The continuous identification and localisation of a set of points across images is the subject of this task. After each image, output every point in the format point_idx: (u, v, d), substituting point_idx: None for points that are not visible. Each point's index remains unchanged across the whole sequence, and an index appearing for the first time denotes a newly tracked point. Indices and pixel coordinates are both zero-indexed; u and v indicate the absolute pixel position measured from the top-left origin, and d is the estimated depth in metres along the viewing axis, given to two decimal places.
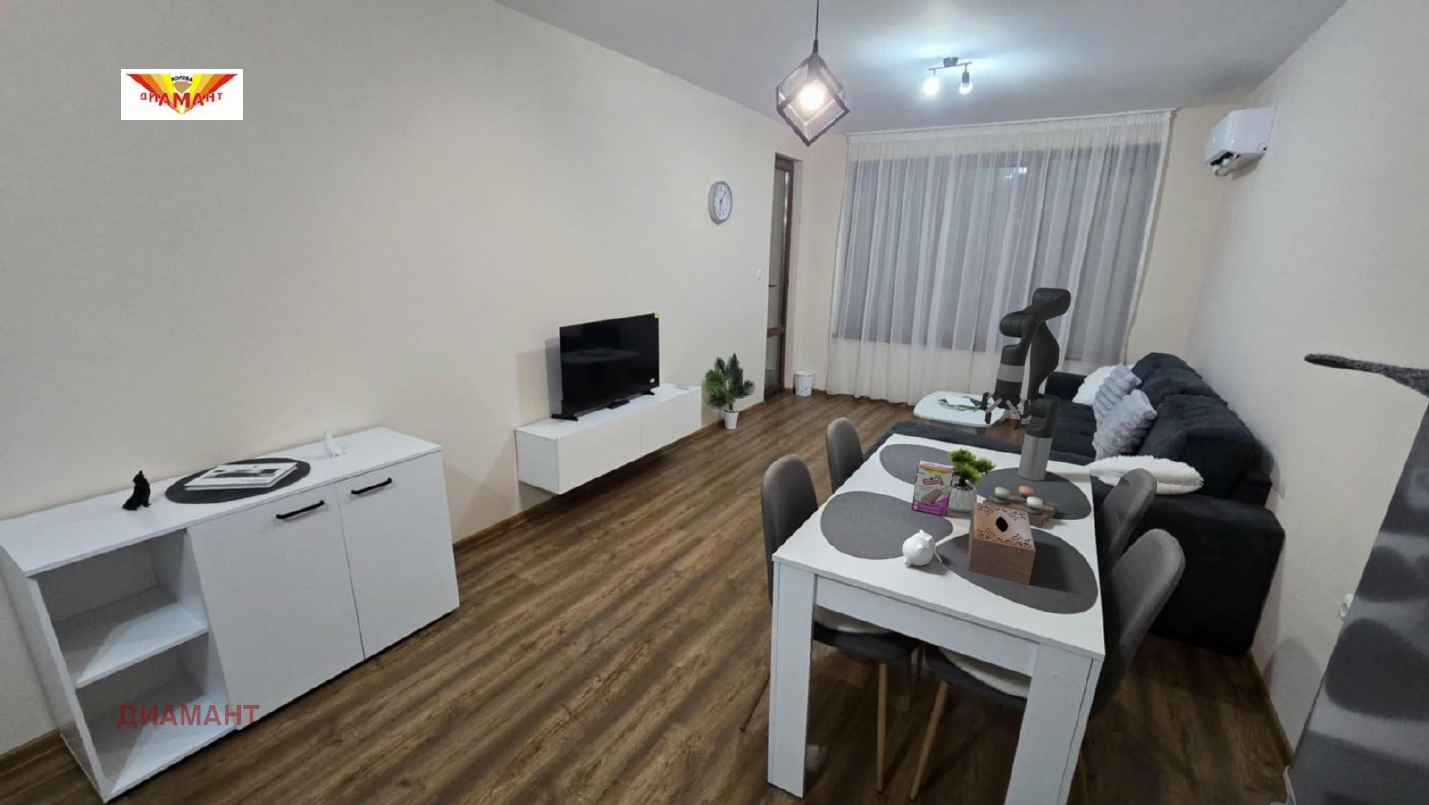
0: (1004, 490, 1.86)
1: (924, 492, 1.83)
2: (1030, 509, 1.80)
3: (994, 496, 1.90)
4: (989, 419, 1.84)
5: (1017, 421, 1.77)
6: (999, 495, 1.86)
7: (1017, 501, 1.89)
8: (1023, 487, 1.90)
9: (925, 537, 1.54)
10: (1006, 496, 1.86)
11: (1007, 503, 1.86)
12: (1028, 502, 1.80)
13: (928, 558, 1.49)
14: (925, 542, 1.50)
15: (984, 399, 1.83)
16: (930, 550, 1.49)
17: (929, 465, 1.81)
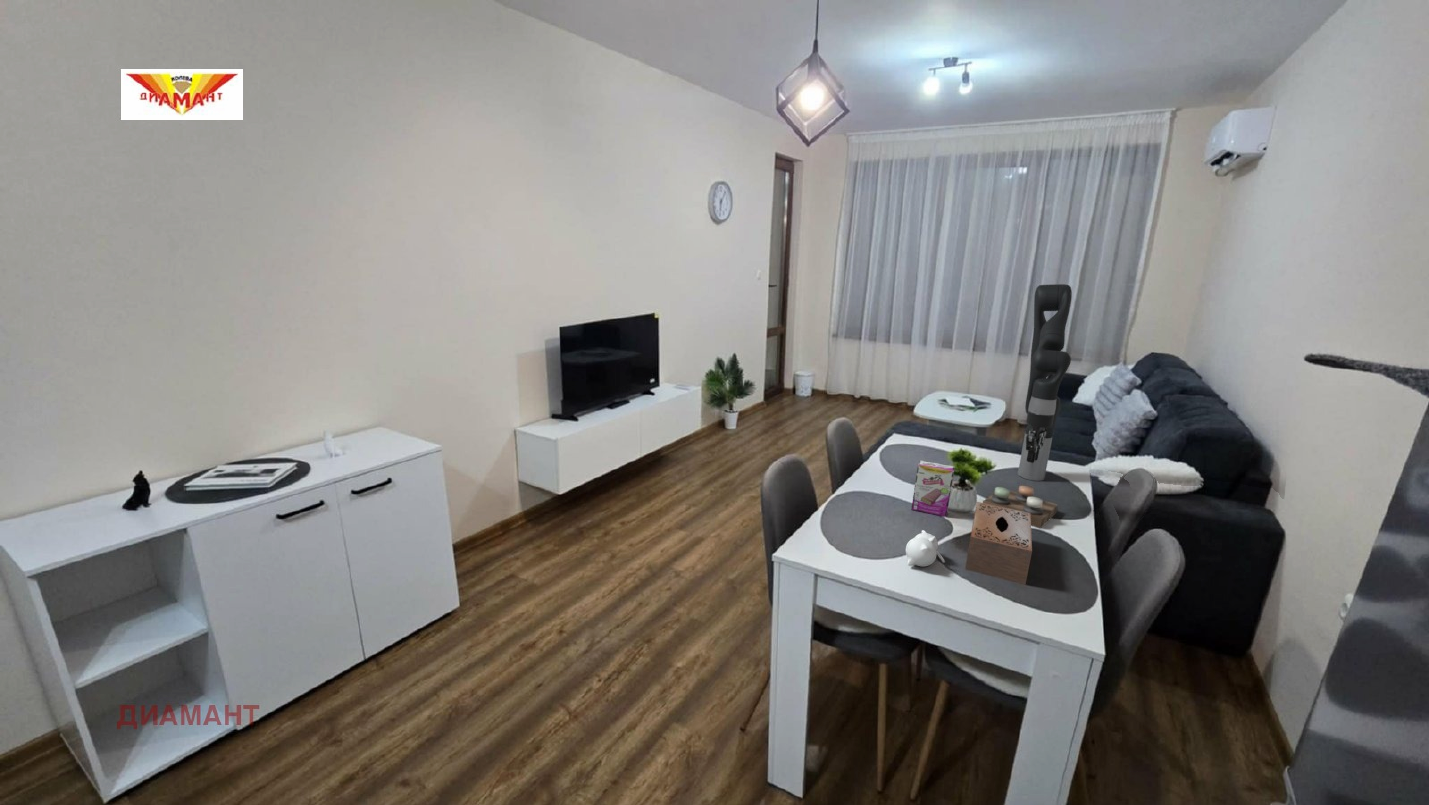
0: (1004, 490, 1.86)
1: (924, 492, 1.83)
2: (1030, 509, 1.80)
3: (994, 496, 1.90)
4: None
5: None
6: (999, 495, 1.86)
7: (1017, 501, 1.89)
8: (1023, 487, 1.90)
9: (928, 537, 1.54)
10: (1006, 496, 1.86)
11: (1007, 503, 1.86)
12: (1028, 502, 1.80)
13: (932, 559, 1.49)
14: (928, 542, 1.50)
15: (1035, 442, 1.81)
16: (934, 551, 1.49)
17: (929, 465, 1.81)
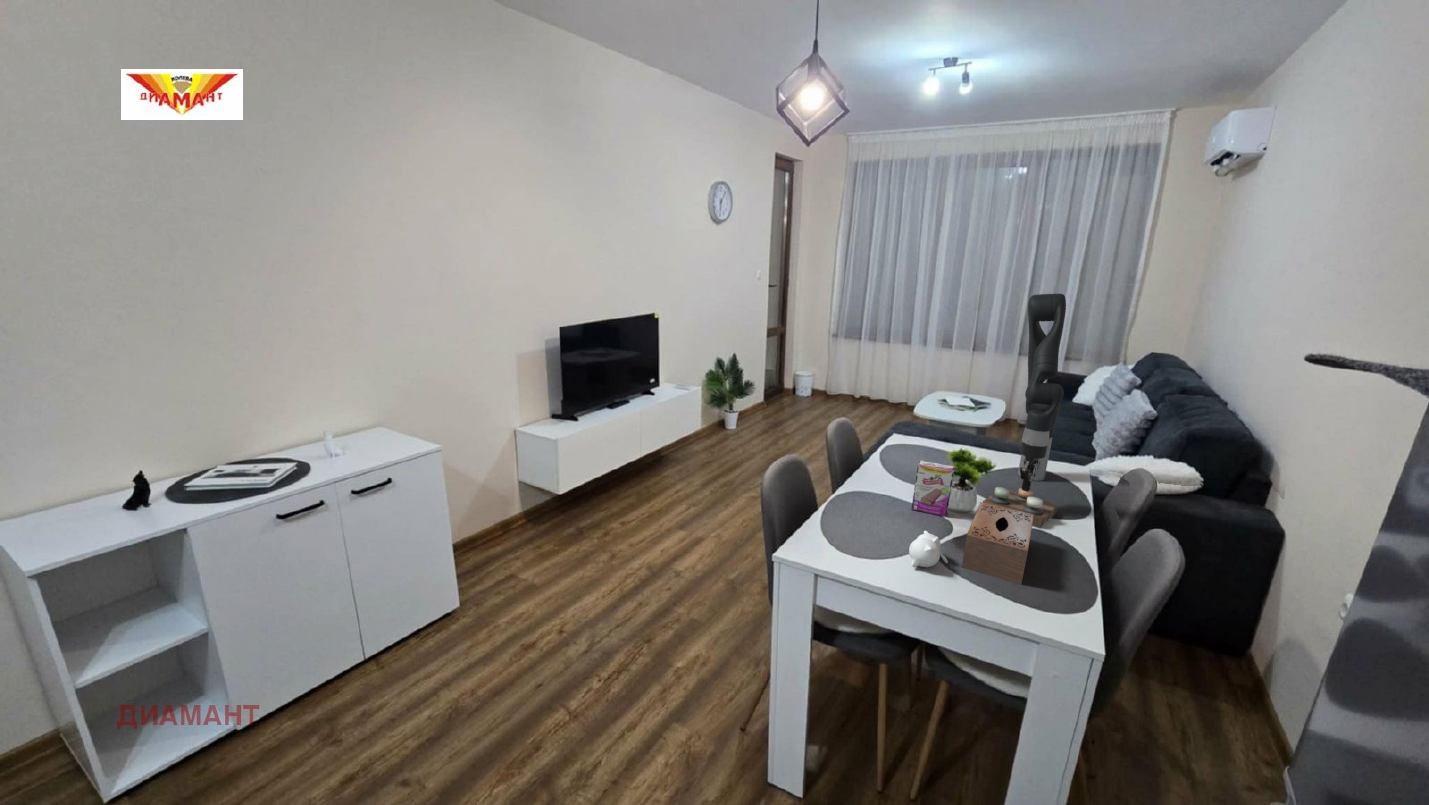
0: (1004, 490, 1.86)
1: (924, 492, 1.83)
2: (1030, 509, 1.80)
3: (994, 496, 1.90)
4: None
5: None
6: (999, 495, 1.86)
7: (1017, 501, 1.89)
8: None
9: (931, 538, 1.54)
10: (1006, 496, 1.86)
11: (1007, 503, 1.86)
12: (1028, 502, 1.80)
13: (936, 559, 1.49)
14: (932, 543, 1.49)
15: (1028, 473, 1.84)
16: (938, 551, 1.49)
17: (929, 465, 1.81)
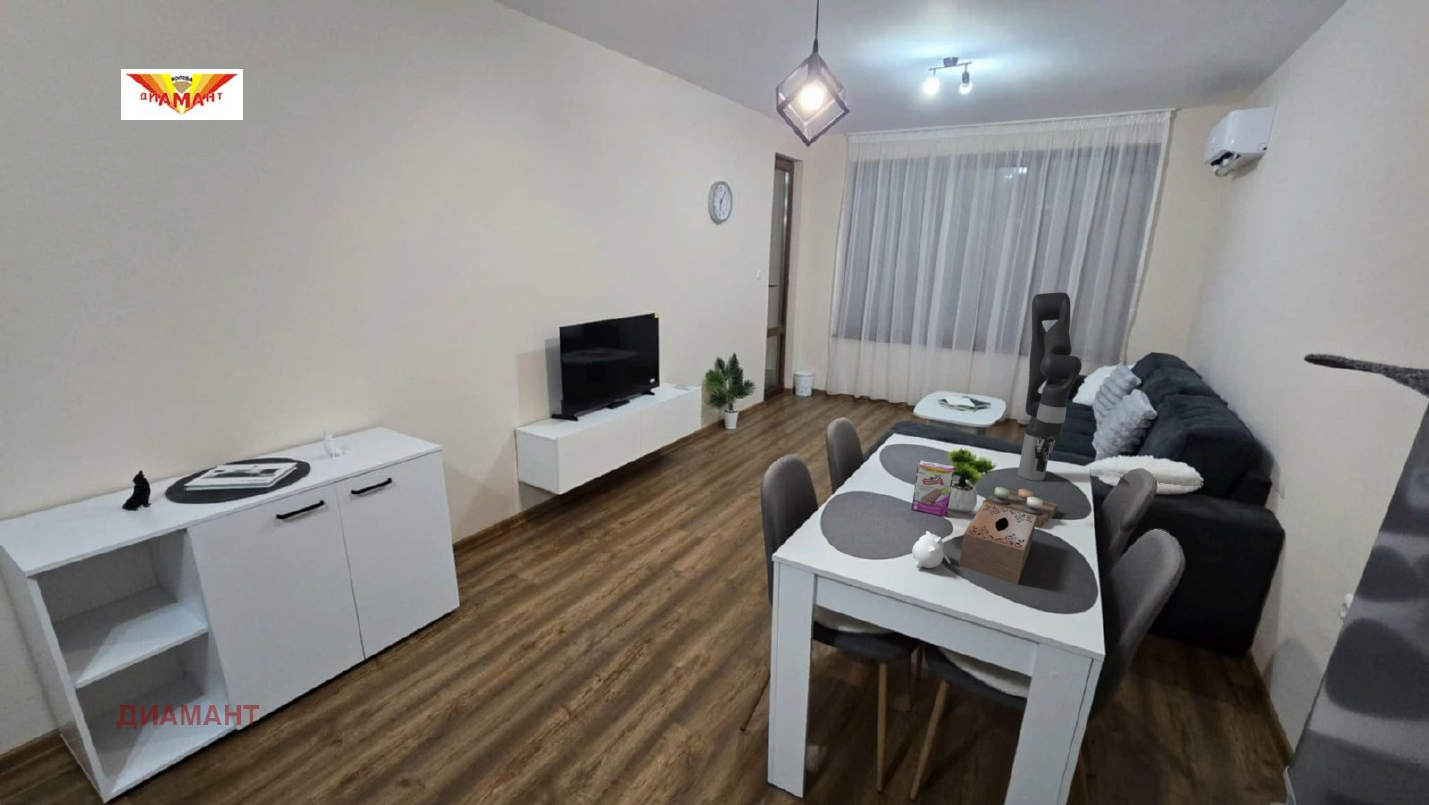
0: (1004, 490, 1.86)
1: (924, 492, 1.83)
2: (1030, 509, 1.80)
3: (994, 496, 1.90)
4: None
5: None
6: (999, 495, 1.86)
7: (1017, 501, 1.89)
8: (1022, 490, 1.90)
9: (933, 538, 1.54)
10: (1006, 496, 1.86)
11: (1007, 503, 1.86)
12: (1028, 502, 1.80)
13: (940, 560, 1.48)
14: (935, 544, 1.49)
15: (1044, 452, 1.72)
16: (941, 552, 1.49)
17: (929, 465, 1.81)
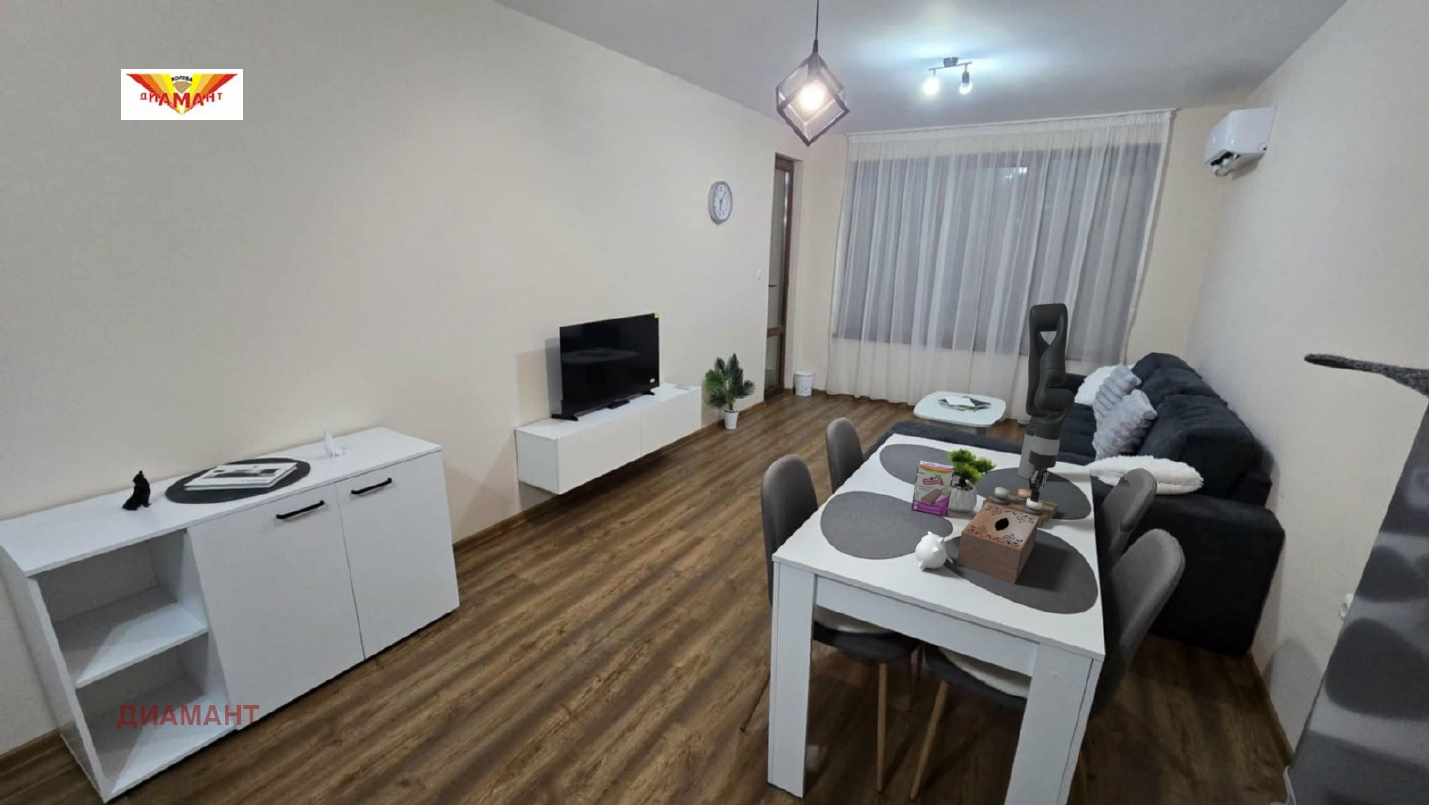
0: (1004, 490, 1.86)
1: (924, 492, 1.83)
2: (1030, 509, 1.80)
3: (994, 496, 1.90)
4: None
5: None
6: (999, 495, 1.86)
7: (1017, 501, 1.89)
8: (1022, 490, 1.90)
9: (936, 539, 1.54)
10: (1006, 496, 1.86)
11: (1007, 503, 1.86)
12: (1028, 504, 1.81)
13: (943, 560, 1.48)
14: (939, 544, 1.49)
15: (1038, 483, 1.75)
16: (945, 552, 1.49)
17: (929, 465, 1.81)
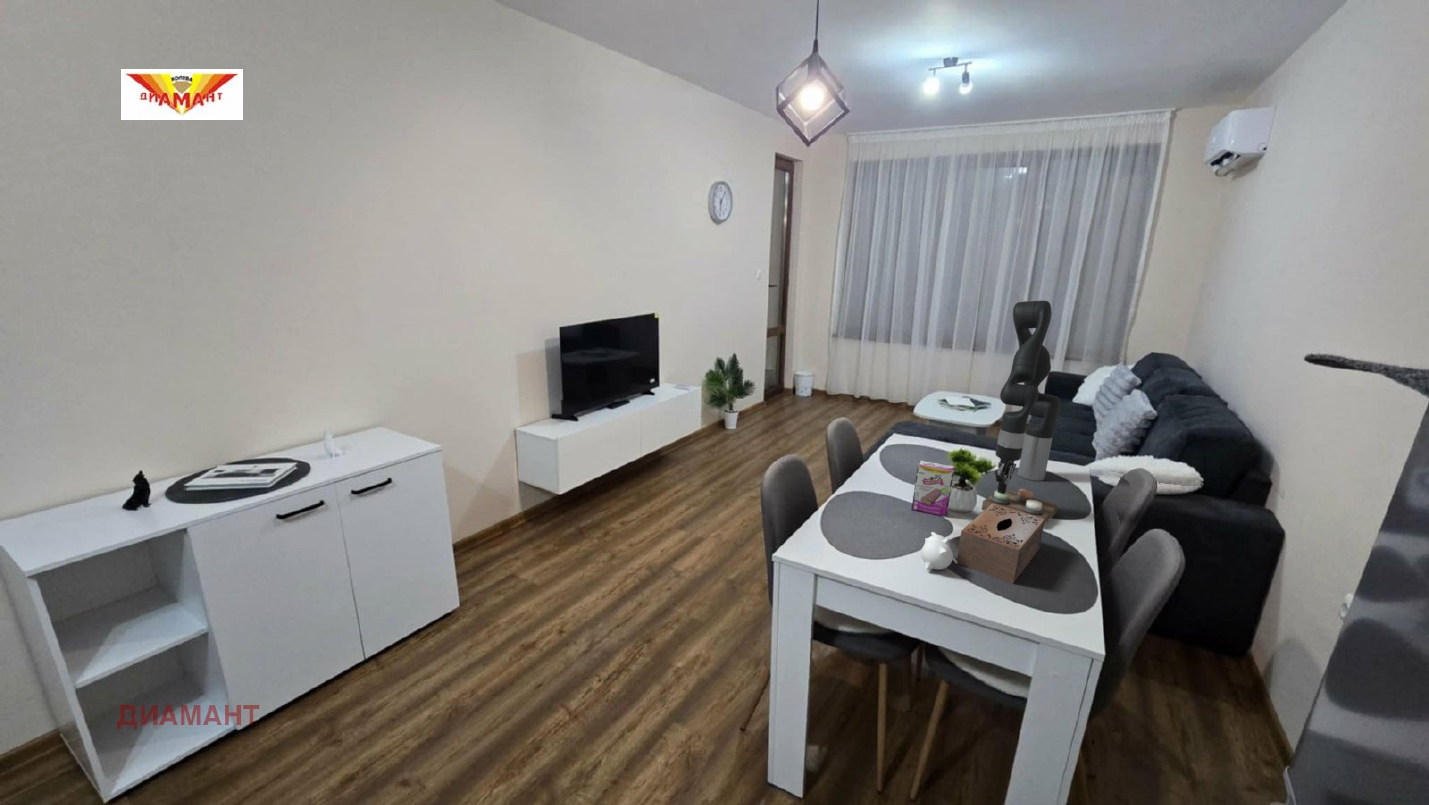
0: (1003, 494, 1.87)
1: (924, 492, 1.83)
2: None
3: None
4: None
5: None
6: (998, 498, 1.87)
7: (1017, 501, 1.89)
8: (1022, 490, 1.90)
9: (941, 540, 1.53)
10: (1005, 499, 1.86)
11: (1007, 503, 1.86)
12: (1027, 505, 1.81)
13: (950, 561, 1.48)
14: (945, 545, 1.49)
15: (1004, 475, 1.82)
16: (951, 553, 1.48)
17: (929, 465, 1.81)
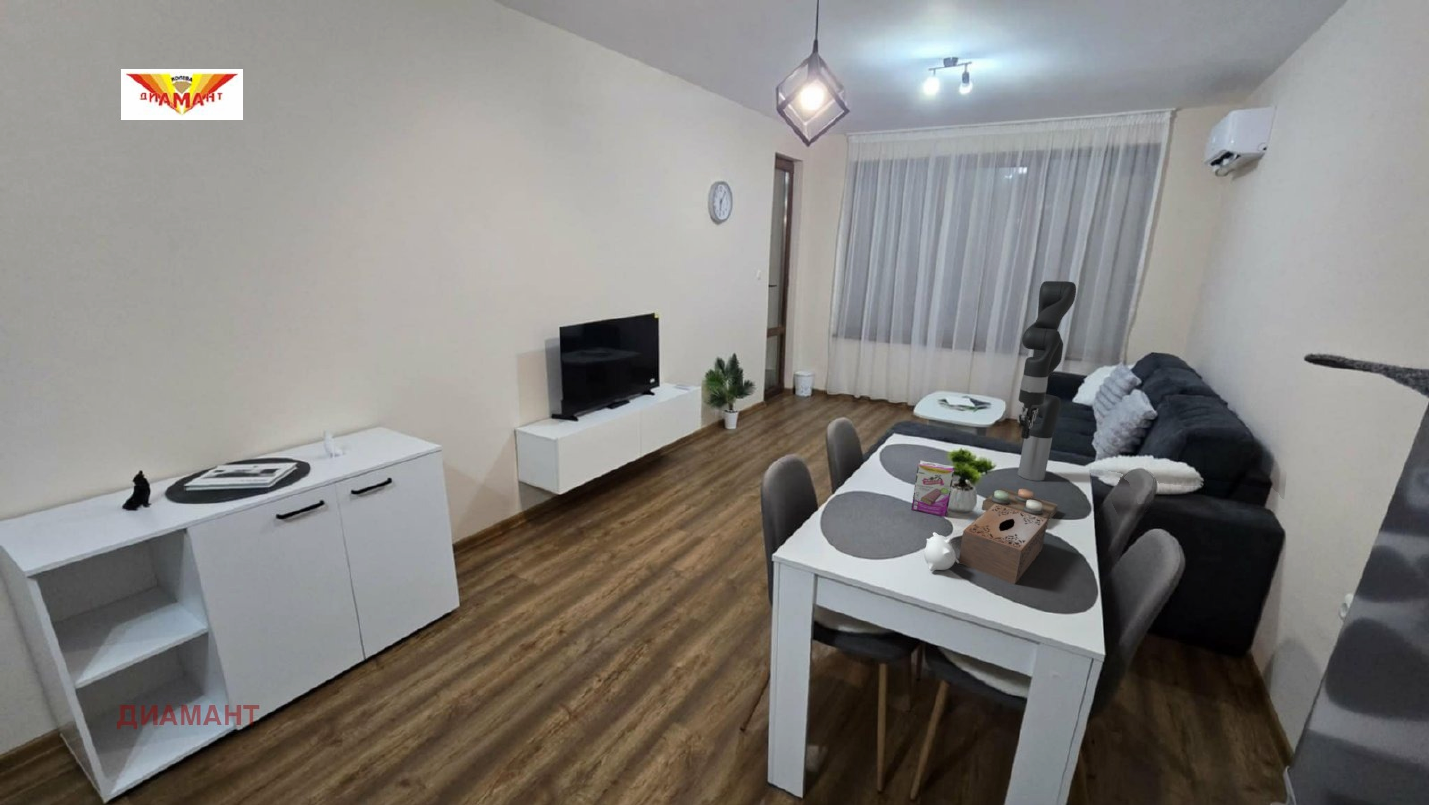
0: (1003, 494, 1.87)
1: (924, 492, 1.83)
2: None
3: None
4: None
5: None
6: (998, 498, 1.87)
7: (1017, 501, 1.89)
8: (1022, 490, 1.90)
9: (943, 540, 1.53)
10: (1005, 499, 1.86)
11: (1007, 503, 1.86)
12: (1027, 505, 1.81)
13: (953, 561, 1.48)
14: (948, 545, 1.49)
15: (1028, 420, 1.84)
16: (954, 553, 1.48)
17: (929, 465, 1.81)
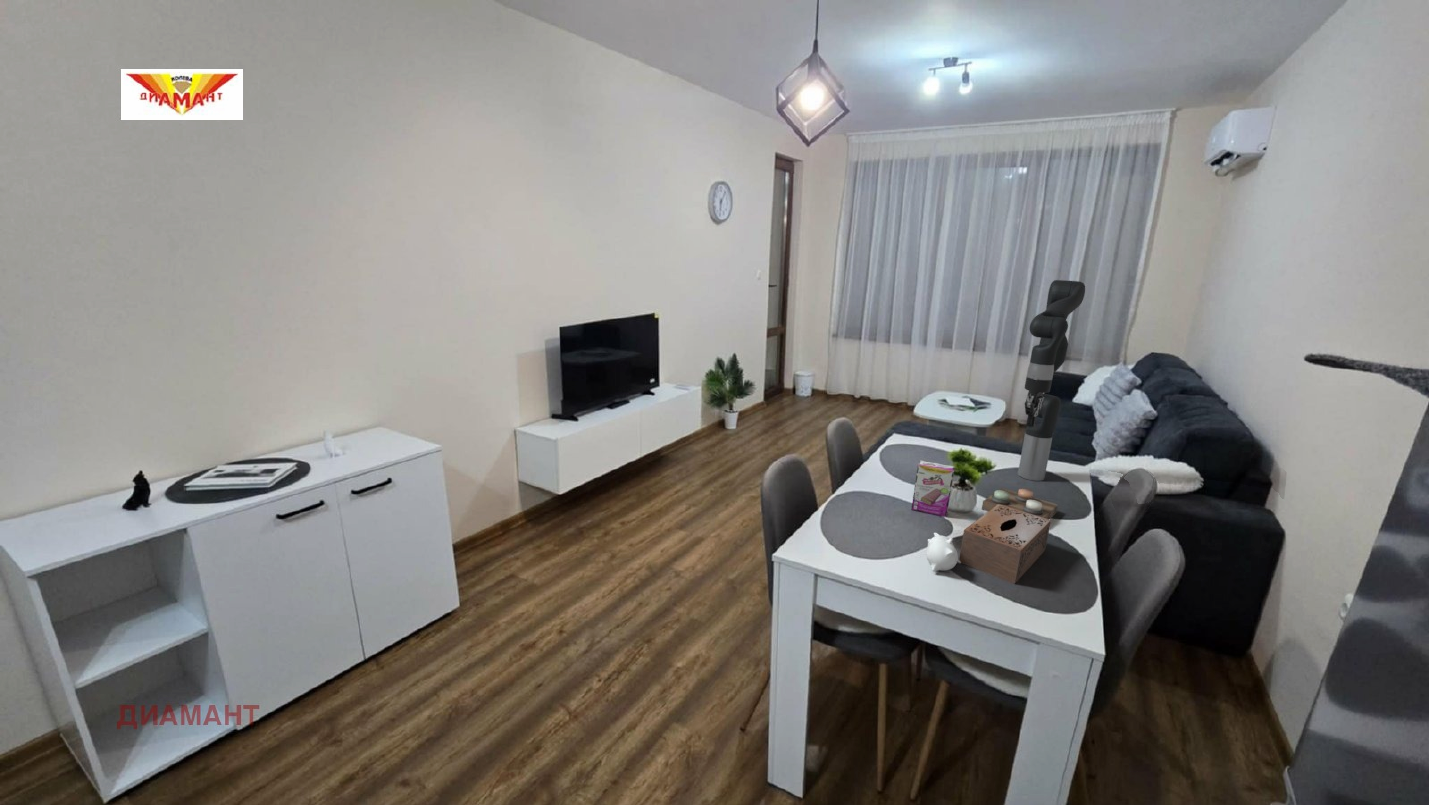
0: (1003, 494, 1.87)
1: (924, 492, 1.83)
2: None
3: None
4: None
5: None
6: (998, 498, 1.87)
7: (1017, 501, 1.89)
8: (1022, 490, 1.90)
9: (945, 540, 1.53)
10: (1005, 499, 1.86)
11: (1007, 503, 1.86)
12: (1027, 505, 1.81)
13: (956, 562, 1.48)
14: (950, 546, 1.48)
15: (1033, 407, 1.85)
16: (956, 553, 1.48)
17: (929, 465, 1.81)
